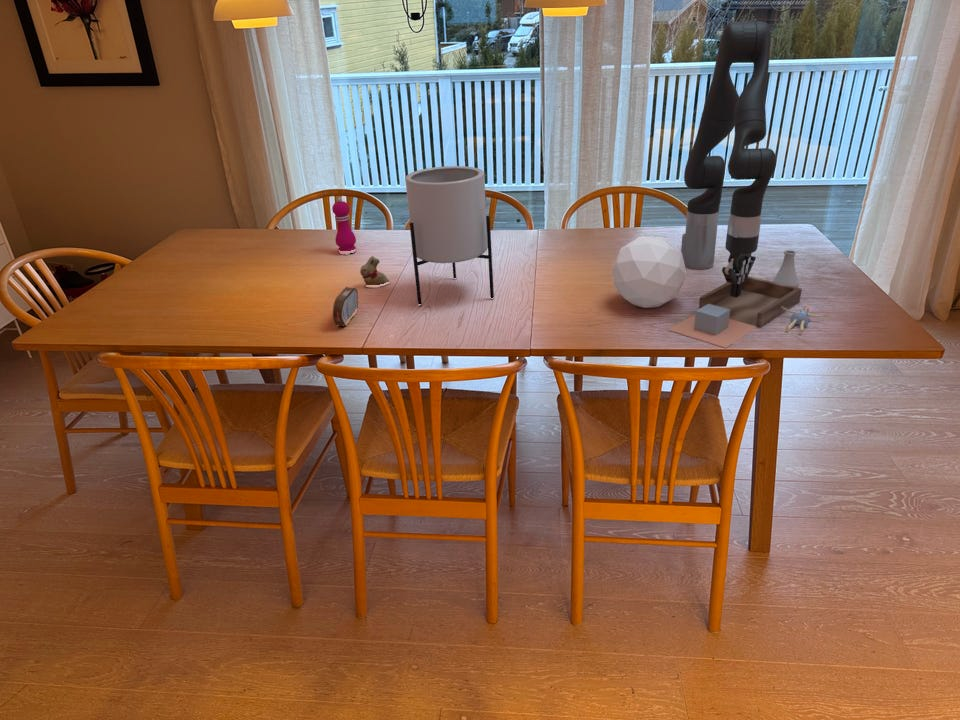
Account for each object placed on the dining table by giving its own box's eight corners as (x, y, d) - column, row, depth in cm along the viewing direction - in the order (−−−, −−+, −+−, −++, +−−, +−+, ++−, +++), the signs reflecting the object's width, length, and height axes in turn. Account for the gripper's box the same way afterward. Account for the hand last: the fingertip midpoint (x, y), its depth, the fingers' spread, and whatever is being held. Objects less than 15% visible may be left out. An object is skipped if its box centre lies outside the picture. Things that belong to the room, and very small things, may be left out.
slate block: (694, 328, 175) (695, 310, 173) (706, 321, 179) (708, 303, 177) (715, 335, 171) (717, 316, 169) (728, 327, 175) (730, 309, 173)
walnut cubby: (698, 310, 186) (699, 297, 184) (739, 287, 198) (741, 274, 196) (760, 328, 174) (762, 313, 172) (799, 302, 187) (801, 288, 185)
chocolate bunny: (367, 282, 220) (363, 252, 215) (391, 282, 218) (387, 252, 214) (361, 288, 215) (357, 257, 211) (385, 289, 214) (381, 258, 209)
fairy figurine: (770, 318, 171) (784, 296, 179) (768, 334, 174) (782, 312, 182) (820, 327, 165) (832, 304, 173) (817, 344, 168) (829, 321, 176)
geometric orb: (665, 328, 193) (707, 285, 177) (601, 312, 187) (639, 267, 172) (656, 276, 203) (696, 231, 188) (595, 259, 198) (631, 212, 182)
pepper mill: (341, 249, 252) (332, 194, 243) (360, 249, 251) (352, 194, 242) (334, 255, 246) (325, 200, 237) (354, 255, 245) (346, 199, 236)
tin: (351, 309, 201) (347, 282, 197) (361, 309, 200) (357, 282, 196) (334, 331, 187) (329, 302, 184) (345, 331, 187) (340, 302, 183)
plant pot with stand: (441, 277, 220) (431, 163, 204) (510, 285, 210) (505, 166, 194) (402, 304, 202) (387, 182, 185) (475, 315, 192) (466, 186, 175)
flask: (801, 289, 194) (806, 256, 190) (773, 289, 196) (778, 255, 191) (795, 280, 201) (801, 247, 196) (769, 280, 202) (774, 247, 198)
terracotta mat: (668, 330, 176) (668, 329, 176) (700, 311, 185) (701, 310, 185) (725, 348, 165) (726, 347, 165) (757, 327, 174) (757, 326, 174)
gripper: (742, 222, 177) (734, 285, 185) (715, 235, 169) (708, 300, 178) (770, 227, 172) (761, 291, 180) (743, 241, 164) (735, 307, 173)
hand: (734, 295), depth 179 cm, fingers closed
